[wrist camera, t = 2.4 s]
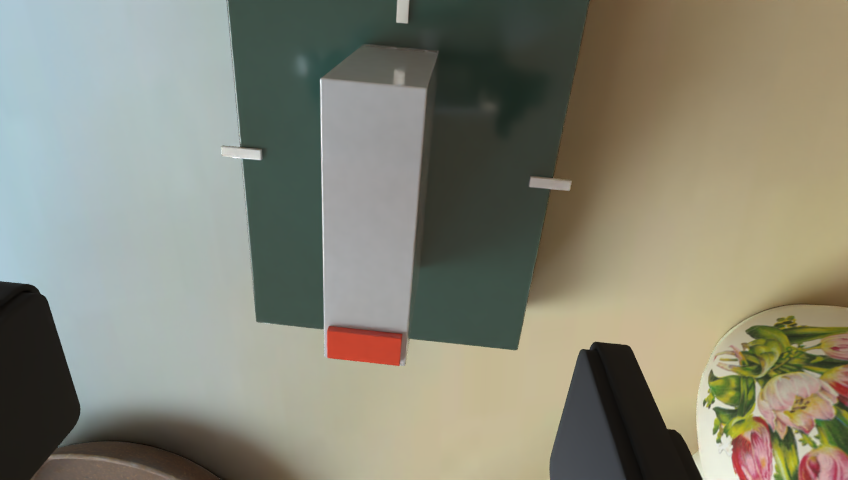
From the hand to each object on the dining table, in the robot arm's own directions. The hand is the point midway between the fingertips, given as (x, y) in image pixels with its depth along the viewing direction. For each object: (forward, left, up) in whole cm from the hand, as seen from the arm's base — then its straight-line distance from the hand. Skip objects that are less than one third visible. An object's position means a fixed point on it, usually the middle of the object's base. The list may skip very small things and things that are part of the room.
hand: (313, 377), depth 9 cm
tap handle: (0, 0, -10) cm, 10 cm away
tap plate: (0, 0, -13) cm, 13 cm away
